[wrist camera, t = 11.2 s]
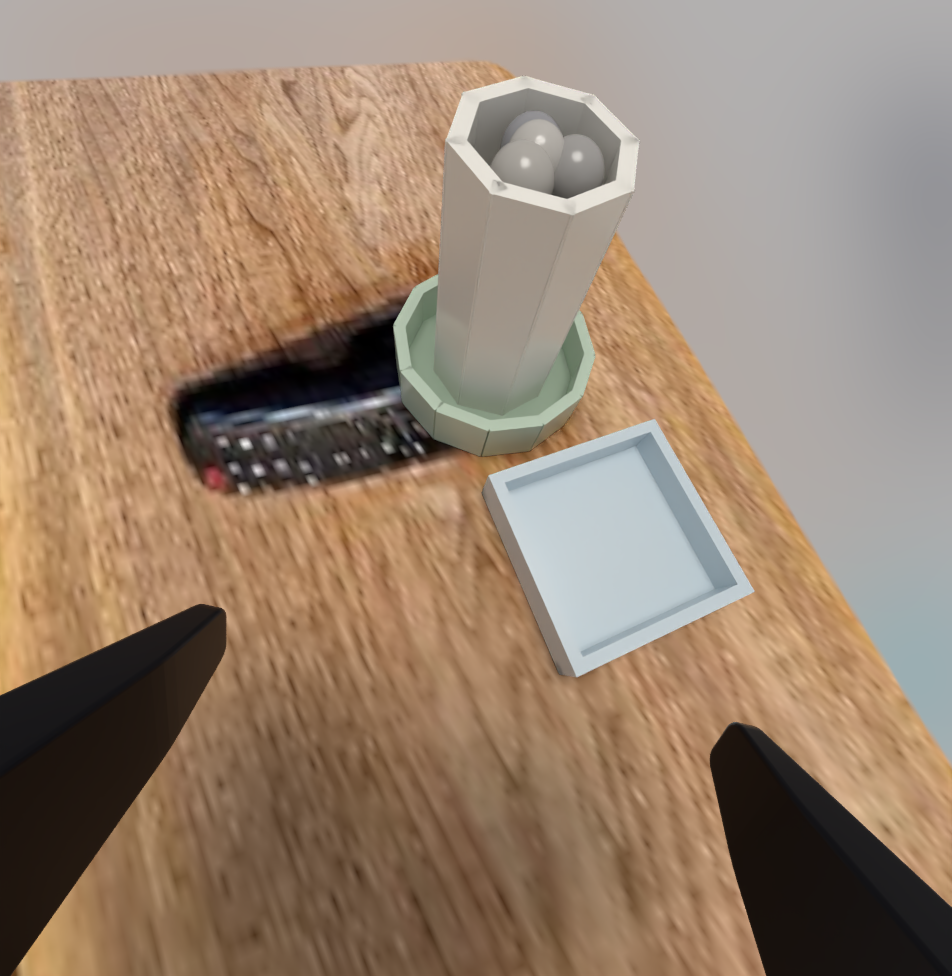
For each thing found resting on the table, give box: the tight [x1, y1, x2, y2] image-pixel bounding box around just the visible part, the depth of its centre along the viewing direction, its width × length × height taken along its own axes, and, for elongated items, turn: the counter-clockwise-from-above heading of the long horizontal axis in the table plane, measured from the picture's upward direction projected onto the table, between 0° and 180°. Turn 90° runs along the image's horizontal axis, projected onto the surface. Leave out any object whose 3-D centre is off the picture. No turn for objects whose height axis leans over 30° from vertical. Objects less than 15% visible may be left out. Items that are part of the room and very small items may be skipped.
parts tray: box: [482, 419, 755, 677], centre depth 22 cm, size 10×10×2 cm
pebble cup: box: [433, 76, 640, 416], centre depth 20 cm, size 6×6×12 cm
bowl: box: [394, 274, 595, 457], centre depth 25 cm, size 10×10×3 cm
